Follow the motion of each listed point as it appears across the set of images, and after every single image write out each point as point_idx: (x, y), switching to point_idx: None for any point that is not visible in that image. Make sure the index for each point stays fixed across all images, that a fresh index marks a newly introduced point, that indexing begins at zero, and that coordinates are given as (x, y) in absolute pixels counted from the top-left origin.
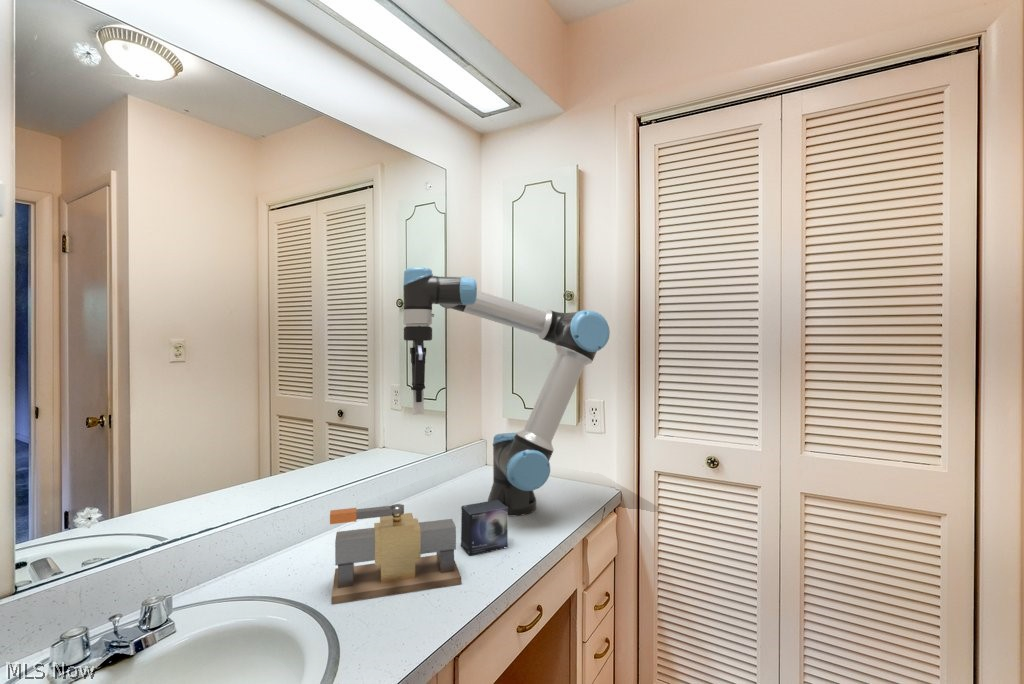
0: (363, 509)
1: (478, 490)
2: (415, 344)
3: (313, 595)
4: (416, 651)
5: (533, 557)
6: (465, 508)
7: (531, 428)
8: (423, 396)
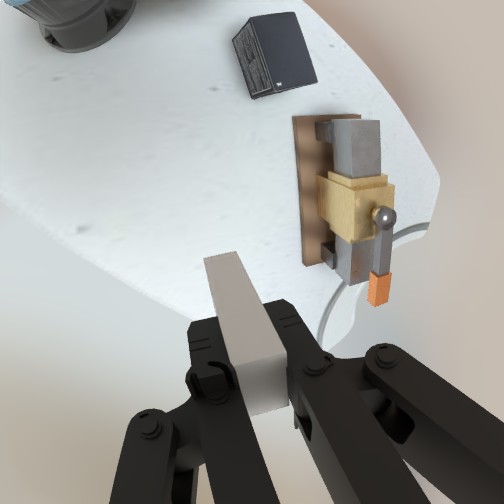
0: (382, 266)
1: None
2: None
3: None
4: (428, 169)
5: (306, 11)
6: (291, 86)
7: None
8: (267, 314)
